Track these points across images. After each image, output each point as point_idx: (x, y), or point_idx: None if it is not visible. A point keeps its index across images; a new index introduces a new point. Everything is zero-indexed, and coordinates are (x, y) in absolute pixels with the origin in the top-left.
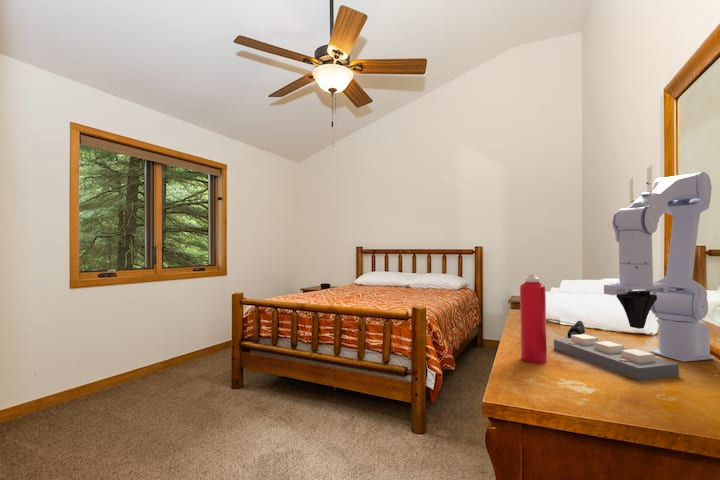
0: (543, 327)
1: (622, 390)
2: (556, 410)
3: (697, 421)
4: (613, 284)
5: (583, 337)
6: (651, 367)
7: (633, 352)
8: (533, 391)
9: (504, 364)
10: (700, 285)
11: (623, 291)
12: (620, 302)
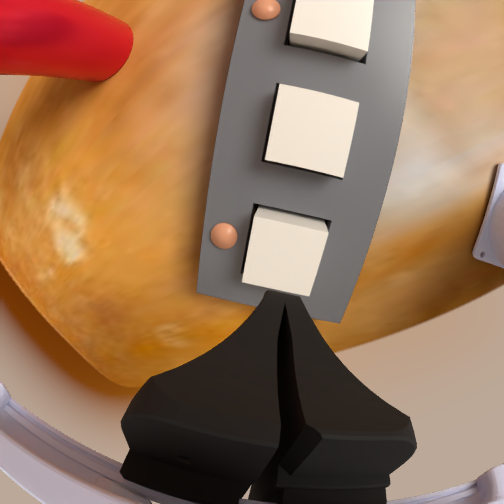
0: (25, 70)
1: (124, 285)
2: (15, 274)
3: (135, 376)
4: (4, 471)
5: (314, 18)
6: (241, 302)
7: (267, 253)
8: (12, 217)
9: None
10: None
11: (91, 474)
12: (188, 362)
